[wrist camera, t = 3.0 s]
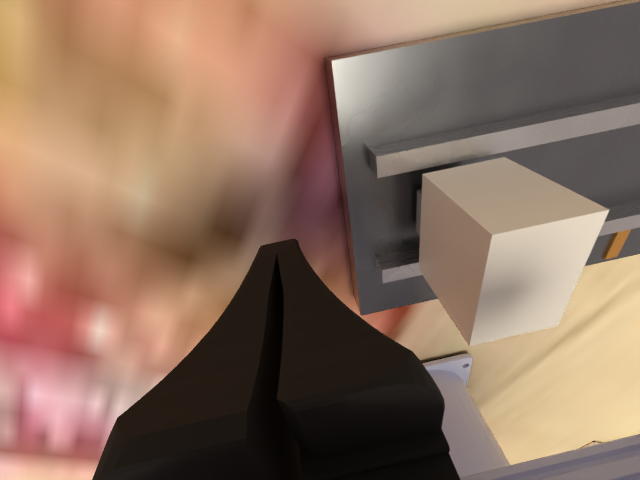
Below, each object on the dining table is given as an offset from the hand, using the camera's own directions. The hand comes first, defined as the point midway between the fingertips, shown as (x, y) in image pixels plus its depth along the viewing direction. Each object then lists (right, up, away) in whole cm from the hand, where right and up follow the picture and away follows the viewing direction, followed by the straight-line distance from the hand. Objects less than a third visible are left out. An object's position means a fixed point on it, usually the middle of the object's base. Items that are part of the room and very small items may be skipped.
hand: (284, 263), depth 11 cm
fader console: (+14, +5, +3) cm, 15 cm away
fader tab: (+7, +2, +2) cm, 7 cm away
